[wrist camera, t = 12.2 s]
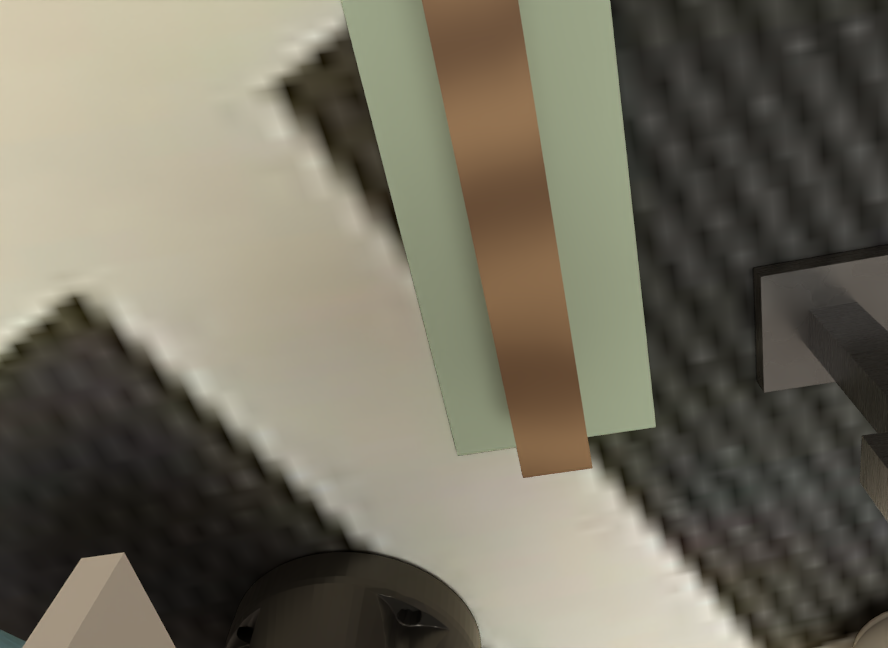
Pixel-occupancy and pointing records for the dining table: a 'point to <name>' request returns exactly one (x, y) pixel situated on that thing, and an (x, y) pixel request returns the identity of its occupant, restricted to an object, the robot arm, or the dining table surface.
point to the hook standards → (831, 340)
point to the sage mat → (571, 197)
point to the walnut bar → (511, 224)
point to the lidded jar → (874, 633)
